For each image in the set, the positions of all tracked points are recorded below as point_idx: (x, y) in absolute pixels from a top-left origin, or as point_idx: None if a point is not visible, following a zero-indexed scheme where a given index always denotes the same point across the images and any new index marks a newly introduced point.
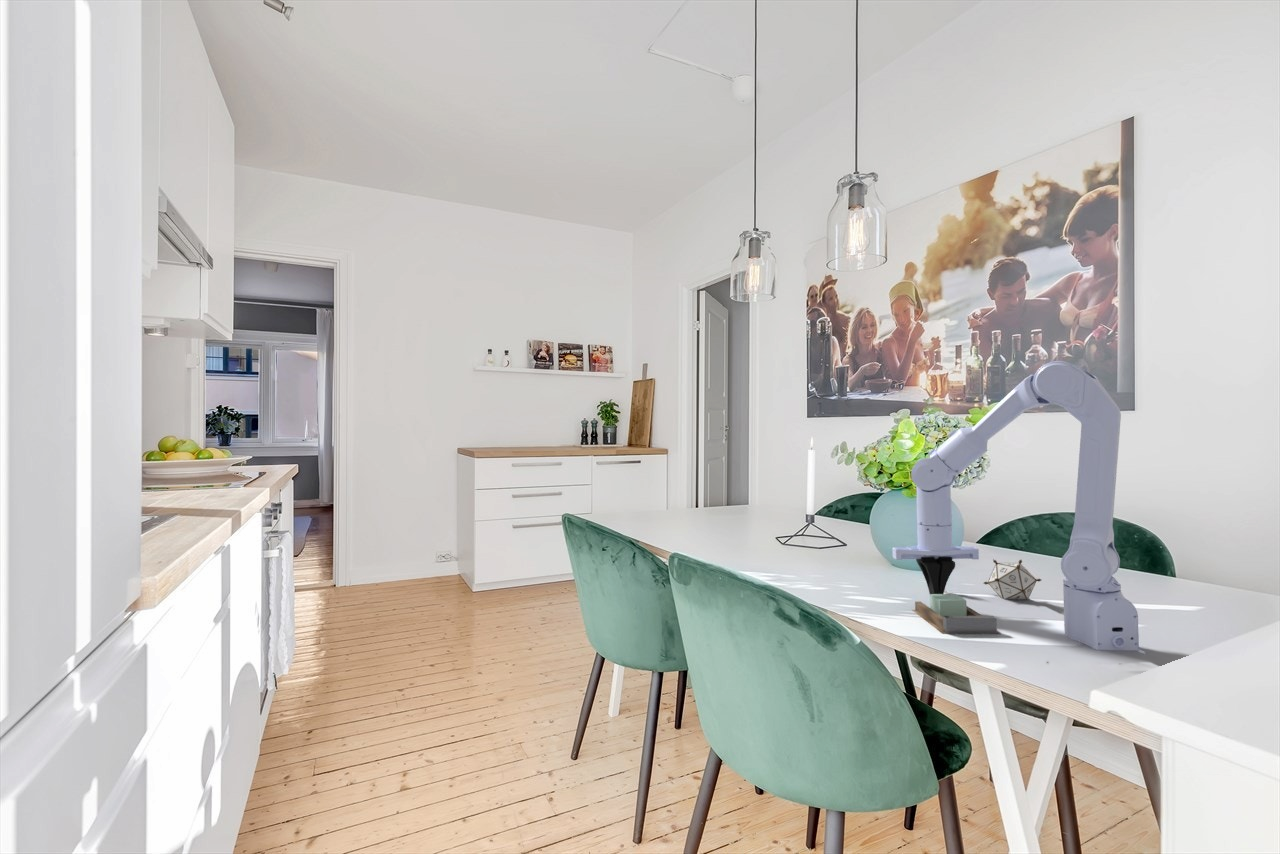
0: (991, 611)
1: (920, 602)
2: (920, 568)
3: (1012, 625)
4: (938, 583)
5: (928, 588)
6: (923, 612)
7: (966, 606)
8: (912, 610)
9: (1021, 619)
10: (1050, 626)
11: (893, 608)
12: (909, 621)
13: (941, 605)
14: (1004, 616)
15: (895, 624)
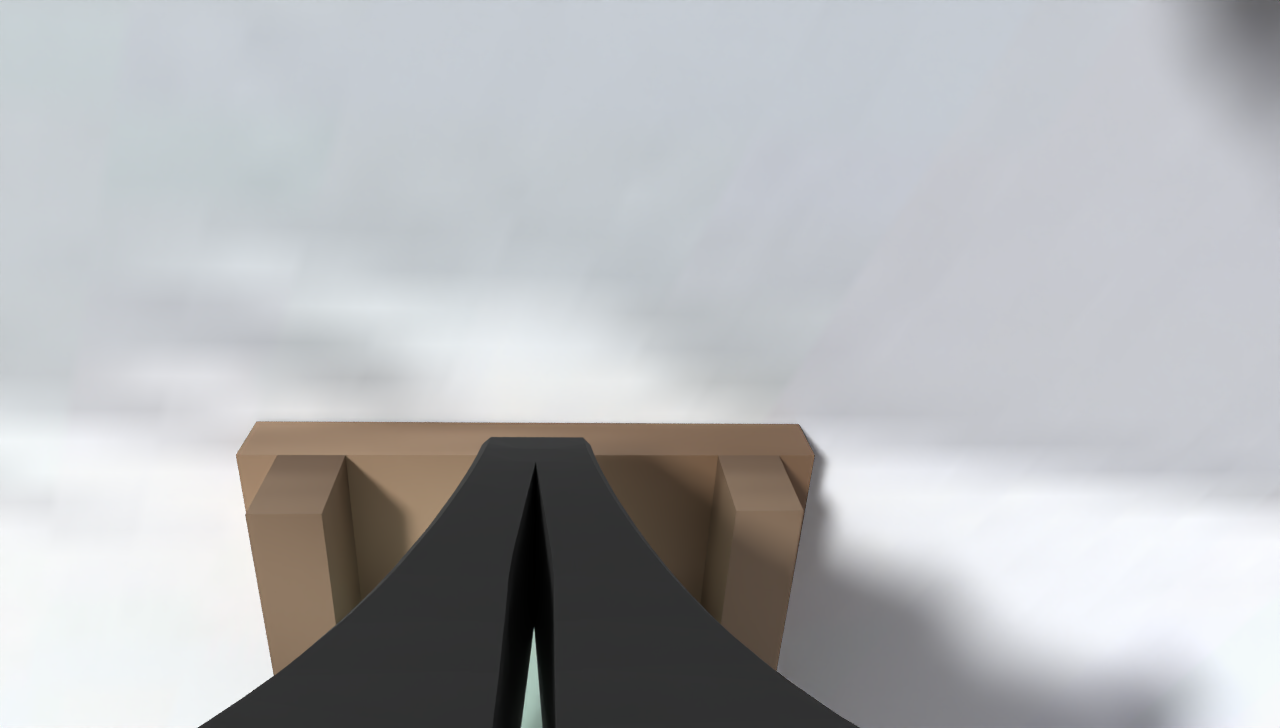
0: (1172, 297)
1: (304, 552)
2: (241, 703)
3: (1021, 653)
4: (548, 716)
5: (457, 490)
6: None
7: None
8: (240, 464)
9: (1220, 524)
10: (1268, 663)
11: (76, 139)
12: (183, 586)
13: None
14: (1155, 449)
15: (27, 661)
